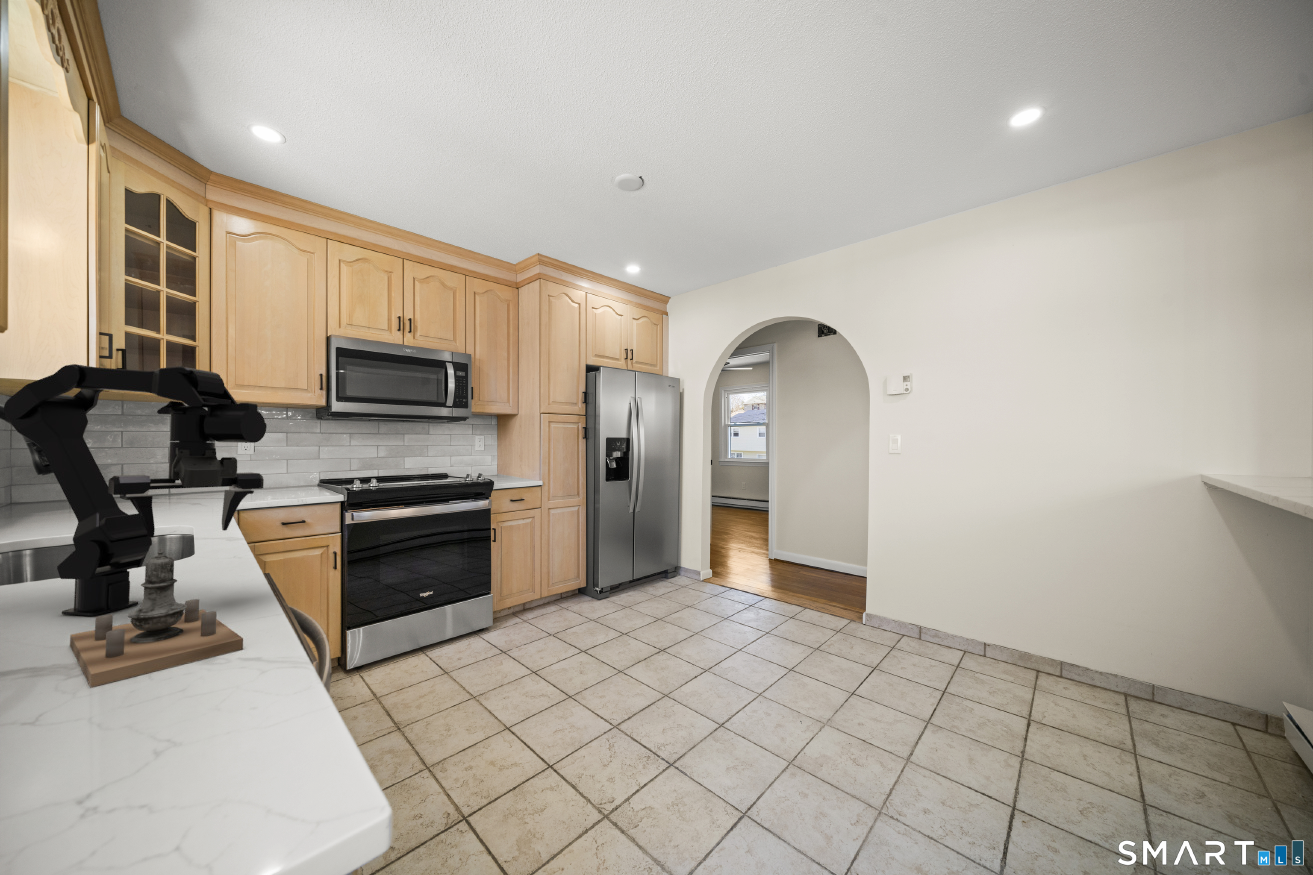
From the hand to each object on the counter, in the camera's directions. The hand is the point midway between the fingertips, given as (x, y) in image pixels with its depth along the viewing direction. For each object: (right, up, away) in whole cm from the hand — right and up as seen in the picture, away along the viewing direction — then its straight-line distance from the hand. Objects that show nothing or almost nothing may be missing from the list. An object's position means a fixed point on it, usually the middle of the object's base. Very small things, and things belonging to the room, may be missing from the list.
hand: (189, 533), depth 85 cm
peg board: (+10, -13, -16) cm, 22 cm away
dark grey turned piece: (+10, -12, -15) cm, 22 cm away
